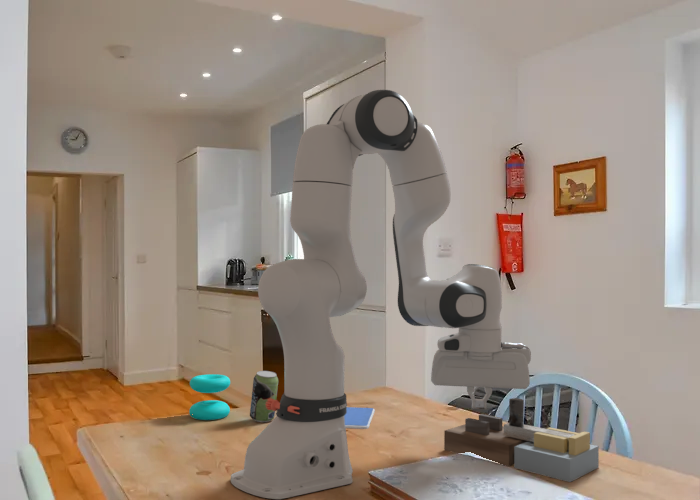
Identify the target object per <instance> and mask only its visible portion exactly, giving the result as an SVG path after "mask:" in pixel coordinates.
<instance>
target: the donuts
mask: <svg viewBox="0 0 700 500" xmlns="http://www.w3.org/2000/svg"><path fill="white" fill-rule="evenodd" d="M230 385H231V379H230V377H228V376H227V375H224V374H218V373H217V374H215V373H214V374H213V373H212V374H209V373H208V374H207V373H206V374H200V375H196V376H193V377H192V378H191V379H190V381H189V387H190V388H191V389H192V390H193V391H195V392H197V393H202V394H215V393H221V392H224V391H225V390H227V389H229V387H230ZM188 410H189V411H188V413H189V415H190V417H191V418H193V419H195V420H199V421H214V420H220V419H224V418H227V416H229V414H230V412H231V408H230V406H229V405H228V403H226V402H225V401H222V400H217V399H213V400H212V399H209V400H207V399H206V400H200V401H198V402H197V401H196V402H195V403H193V404H192V405H191V406H190V408H189V409H188ZM192 414H193V415H192Z"/></svg>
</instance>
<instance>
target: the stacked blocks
mask: <svg viewBox="0 0 700 500" xmlns="http://www.w3.org/2000/svg"><path fill="white" fill-rule="evenodd" d="M546 429H549V430H554V431H559V432H564V433H569V434H574V436H571V437H569V450H568V449H567V438H565V437H560V436H555V435H550V434H545V433H540V432H535V433H534V442H531V441H528V442H525V443H522V444H520V445H517V446H515V447H514V464H513V466H514V467H513V468H514V469H517V470H522V471H524V472H525V471H526V472H528V473H533V474H536V475H541V476H545V477H549V478H553V479H555V480H560V481H564V482H568V483H571V482H573V481H575V480H577V479H579V478H581V477H583V476H585V475H587V474H589V473H590V472H592V471H594V470H597V469H598V468H599V466H600V465H599V463H600V461H599V457H600V456H599V445H596V444H595V445H594V444H591V432H589V431H581V432H575V431H569V430H565V429H560V428H554V427H547V428H546Z"/></svg>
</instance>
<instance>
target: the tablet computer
mask: <svg viewBox="0 0 700 500" xmlns="http://www.w3.org/2000/svg"><path fill="white" fill-rule="evenodd" d="M375 412H376V409H375V408H373V407H354V406H353V407H351V406H349V407H348V406H347V413H346V414H345V415H344V417H345V429H355V430H356V429H357V430H368V429H369V428H370V425H371V422H372V420H373V417H374V414H375Z"/></svg>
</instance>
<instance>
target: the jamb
mask: <svg viewBox="0 0 700 500" xmlns="http://www.w3.org/2000/svg"><path fill="white" fill-rule="evenodd" d="M464 422H465V424H463V425H458V426H455V427H452V428H451V427H450V428H448V429H444V431H443V433H444V434H443V435H444V438H443V439H444V441H443V442H444V445H443V447H444V448H443V449H444V451H447V452H451V453H455V454H458V453H465V452H471V453H474V454H476V455H479V456H481V457H483V458H486V459H489V460H492V461H495V462H498V463H500V464H499V465H501V464H503V466H505V465H506V467H511V466H514V447H515V446H517V445H520V444H522V443H525V442H528V441H526V440H522V439H517V438H513V437H508V436H504V425H503V418H502V417H498V416H493V415H489V414H482V413H480V414H478V419H475V418H471V417H467V418H465V420H464Z"/></svg>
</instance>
